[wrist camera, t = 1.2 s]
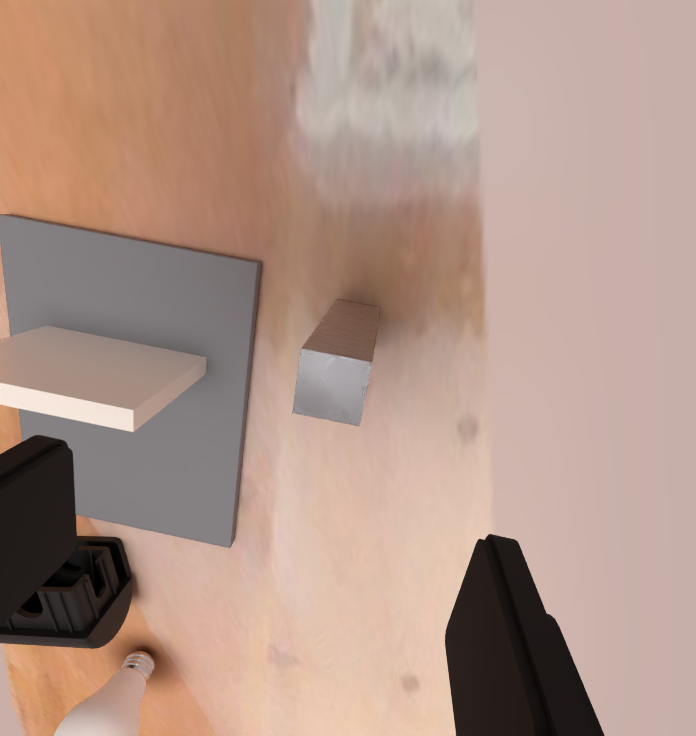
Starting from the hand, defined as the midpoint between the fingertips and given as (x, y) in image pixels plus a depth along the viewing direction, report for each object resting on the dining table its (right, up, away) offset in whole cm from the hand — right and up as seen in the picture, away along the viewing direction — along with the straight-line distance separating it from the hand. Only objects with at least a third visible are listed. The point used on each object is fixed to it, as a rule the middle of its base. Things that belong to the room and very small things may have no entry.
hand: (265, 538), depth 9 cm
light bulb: (-19, -25, +33) cm, 46 cm away
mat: (-15, +2, +23) cm, 28 cm away
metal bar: (+2, +7, +20) cm, 21 cm away
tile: (-14, +5, +21) cm, 26 cm away
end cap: (-23, -15, +30) cm, 41 cm away
